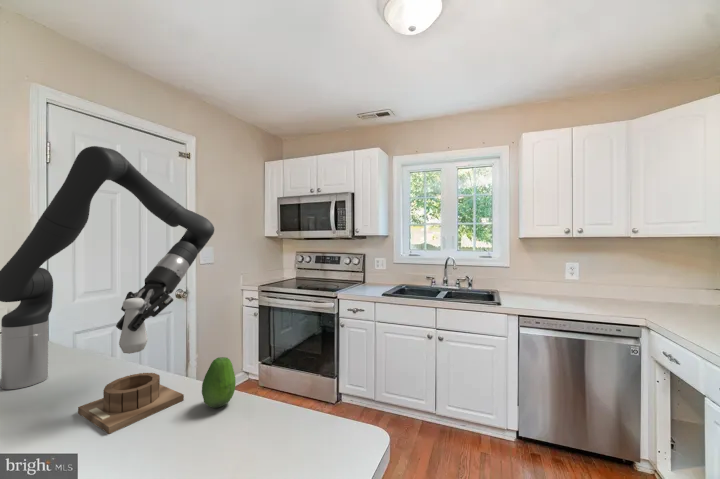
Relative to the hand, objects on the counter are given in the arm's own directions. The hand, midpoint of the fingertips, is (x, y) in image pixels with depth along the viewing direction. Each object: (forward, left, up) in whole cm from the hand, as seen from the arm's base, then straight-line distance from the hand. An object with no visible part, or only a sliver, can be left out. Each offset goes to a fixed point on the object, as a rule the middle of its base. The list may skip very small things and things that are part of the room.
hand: (125, 329), depth 75 cm
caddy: (0, +2, -20) cm, 20 cm away
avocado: (+18, +13, -20) cm, 30 cm away
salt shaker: (-1, +2, -6) cm, 6 cm away
